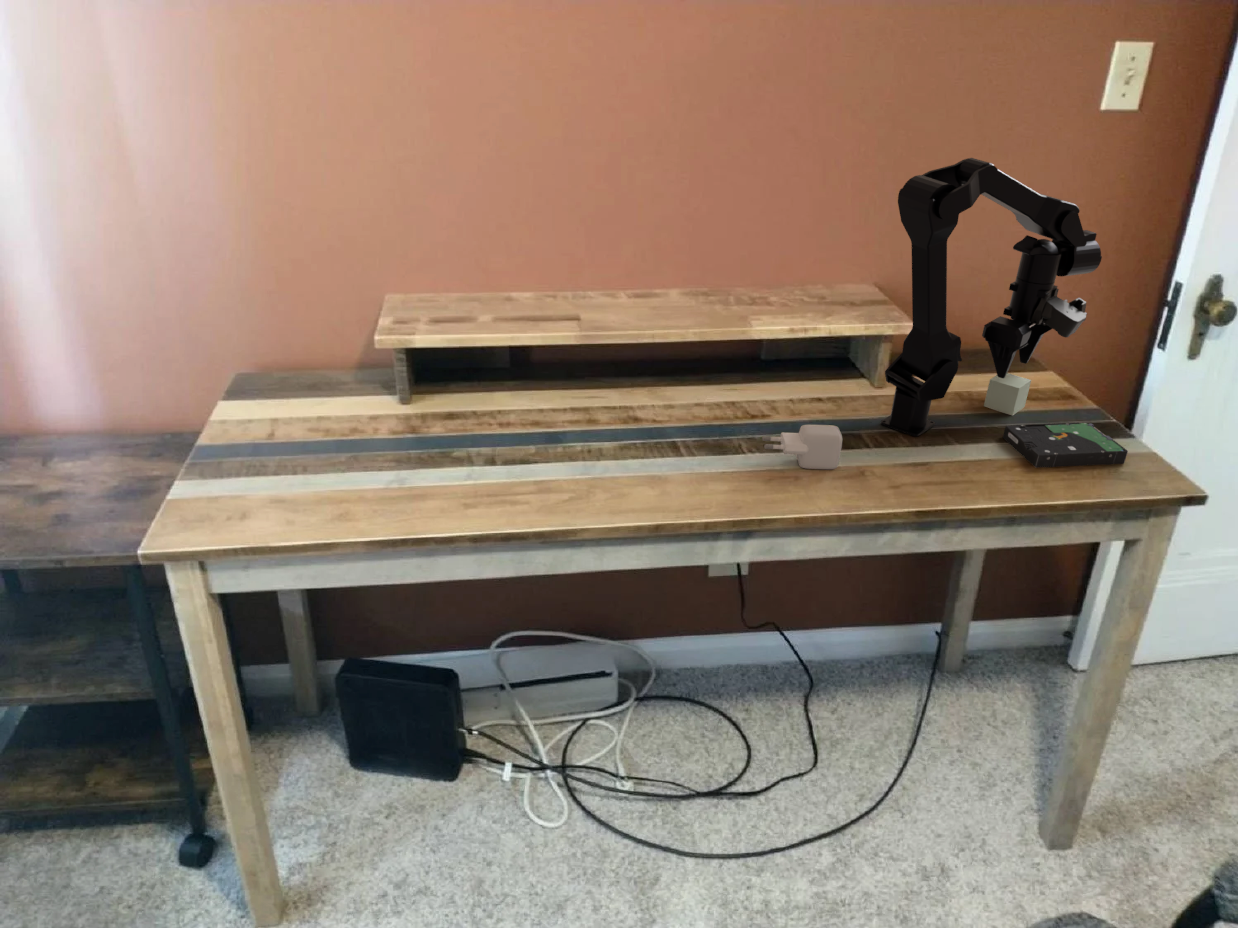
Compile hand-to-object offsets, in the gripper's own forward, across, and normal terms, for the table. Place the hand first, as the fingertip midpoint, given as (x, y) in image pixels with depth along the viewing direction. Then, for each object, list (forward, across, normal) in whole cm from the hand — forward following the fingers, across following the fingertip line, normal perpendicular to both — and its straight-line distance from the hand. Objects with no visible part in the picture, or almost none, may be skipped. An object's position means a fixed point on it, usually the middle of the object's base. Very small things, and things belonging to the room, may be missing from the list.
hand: (1012, 370), depth 161 cm
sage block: (+7, 0, 0) cm, 7 cm away
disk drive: (+7, -9, -13) cm, 18 cm away
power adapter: (+7, -43, +13) cm, 45 cm away
